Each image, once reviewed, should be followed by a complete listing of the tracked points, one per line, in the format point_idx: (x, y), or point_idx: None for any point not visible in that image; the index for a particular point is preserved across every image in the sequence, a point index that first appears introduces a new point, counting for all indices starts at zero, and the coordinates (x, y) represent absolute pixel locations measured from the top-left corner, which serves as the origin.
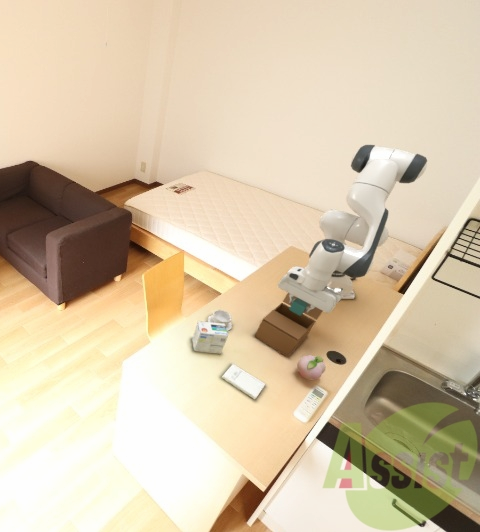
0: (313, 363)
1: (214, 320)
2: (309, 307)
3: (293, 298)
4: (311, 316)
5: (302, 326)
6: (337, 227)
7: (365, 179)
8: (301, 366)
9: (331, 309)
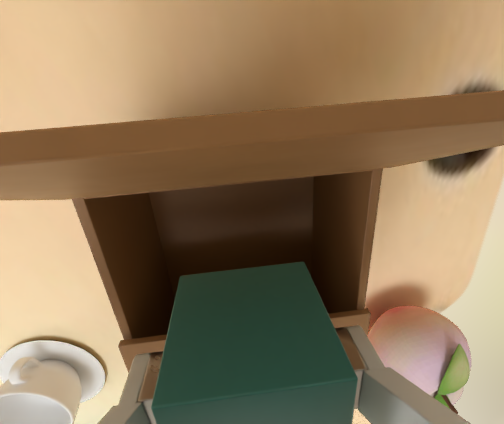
0: None
1: (40, 420)
2: (369, 390)
3: (136, 417)
4: (346, 171)
5: (336, 319)
6: None
7: None
8: None
9: None
